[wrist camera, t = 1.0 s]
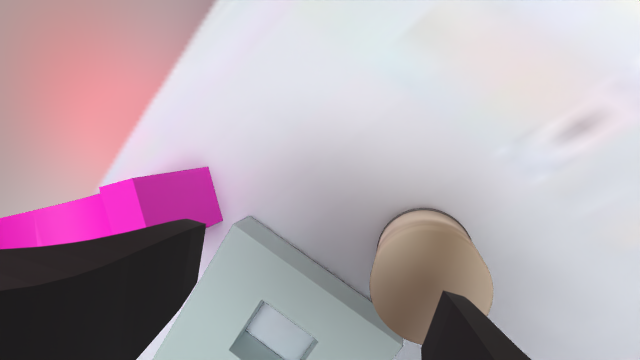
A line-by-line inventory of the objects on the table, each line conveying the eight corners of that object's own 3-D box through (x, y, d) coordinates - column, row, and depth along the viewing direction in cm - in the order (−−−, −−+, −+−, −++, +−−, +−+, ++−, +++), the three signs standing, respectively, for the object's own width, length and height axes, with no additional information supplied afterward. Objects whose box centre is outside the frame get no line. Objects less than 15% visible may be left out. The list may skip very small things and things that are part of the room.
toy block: (62, 289, 30) (-49, 339, 23) (40, 212, 29) (-81, 237, 22) (233, 254, 26) (166, 300, 19) (209, 166, 26) (132, 178, 19)
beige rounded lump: (485, 233, 22) (521, 278, 15) (434, 300, 23) (445, 370, 16) (410, 184, 23) (412, 205, 16) (363, 251, 24) (345, 299, 17)
